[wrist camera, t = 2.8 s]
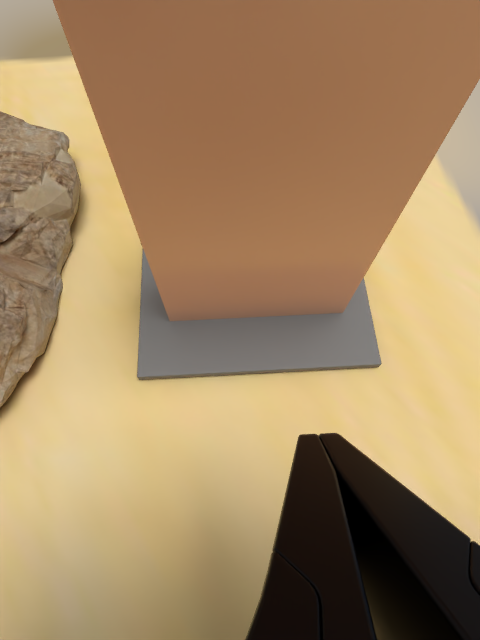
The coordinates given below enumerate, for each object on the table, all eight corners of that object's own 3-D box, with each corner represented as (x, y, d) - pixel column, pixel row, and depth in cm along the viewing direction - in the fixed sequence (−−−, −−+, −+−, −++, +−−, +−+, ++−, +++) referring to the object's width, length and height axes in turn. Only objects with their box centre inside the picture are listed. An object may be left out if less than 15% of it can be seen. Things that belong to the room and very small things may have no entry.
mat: (378, 366, 21) (381, 364, 20) (139, 379, 20) (137, 377, 20) (322, 93, 29) (324, 87, 28) (151, 98, 28) (149, 92, 28)
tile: (342, 312, 21) (541, -27, 8) (169, 321, 21) (46, -18, 7) (335, 272, 22) (500, -93, 8) (170, 280, 22) (61, -87, 8)
